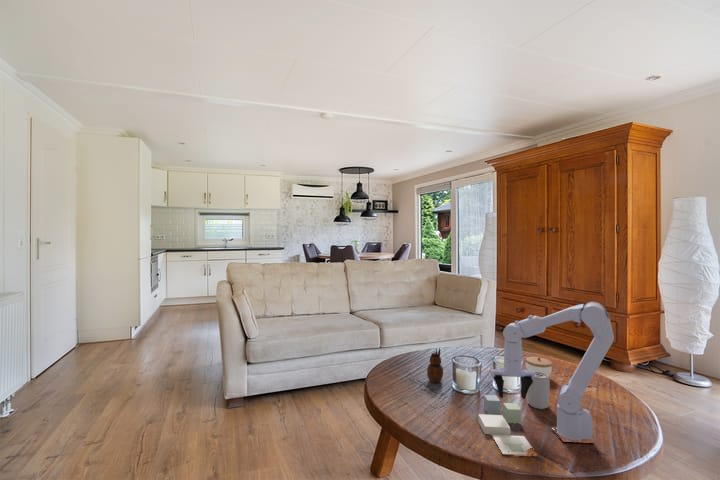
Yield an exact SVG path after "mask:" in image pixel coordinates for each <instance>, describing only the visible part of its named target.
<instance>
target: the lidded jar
mask: <svg viewBox="0 0 720 480" xmlns="http://www.w3.org/2000/svg"><path fill="white" fill-rule="evenodd" d="M552 366H553V362H552V361H551V360H550V359H548V358H545V357H541V356H528V357H526V358H525V367H526V370H530V371H534V372H541V373H544V374H546V375H547V376H548V378H549V377H550V376H551V374H552V370H553V369H552V368H553V367H552Z"/></svg>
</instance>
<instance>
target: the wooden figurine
mask: <svg viewBox="0 0 720 480" xmlns="http://www.w3.org/2000/svg"><path fill="white" fill-rule="evenodd" d="M441 364H442V359H441V347H439V349H437V348H435V351H433V352H431V355H430V357H429V364H428V366H427V368H426V370H427V371H426V372H427V373H426V374H427V378H428V380H429V381H430V382H431V383H435V384H438V383H441V381H442V380H443V376H444V367H443V366H442V365H441Z"/></svg>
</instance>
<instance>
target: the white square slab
mask: <svg viewBox="0 0 720 480" xmlns="http://www.w3.org/2000/svg"><path fill="white" fill-rule="evenodd" d="M477 420H478V421H477V422H478V424H479V426H480V429H481V430H482V432H483V434H484V435H485V434H490V435H489V436H492V435H511V427H510V424H509V423H507V422H506V420H505V419H504V417H503V414H500V415H499V414H487V413H486V414H484V413H483V414H482V413H479V414H478V416H477Z"/></svg>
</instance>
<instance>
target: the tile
mask: <svg viewBox="0 0 720 480" xmlns="http://www.w3.org/2000/svg"><path fill="white" fill-rule="evenodd" d="M491 437H492V439H493V441H494V440H495V441H494V443H495V442H496V443H495V444H497V445H498V447H499V448H498V447H497V448H498V450H499V449H500V450H501V452H502V454H513V455H526V454H527V452H528V451H527V450H528V449H530V448H533V446H532V445H531V444H530V442H529V441H528V439H527V438H526V437H525V436H524V435H511V434H510V435H491ZM497 445H496V446H497ZM500 450H499V451H500ZM508 451H509V452H508ZM526 451H527V452H526ZM501 452H500V453H501ZM502 454H501V455H502Z"/></svg>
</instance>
